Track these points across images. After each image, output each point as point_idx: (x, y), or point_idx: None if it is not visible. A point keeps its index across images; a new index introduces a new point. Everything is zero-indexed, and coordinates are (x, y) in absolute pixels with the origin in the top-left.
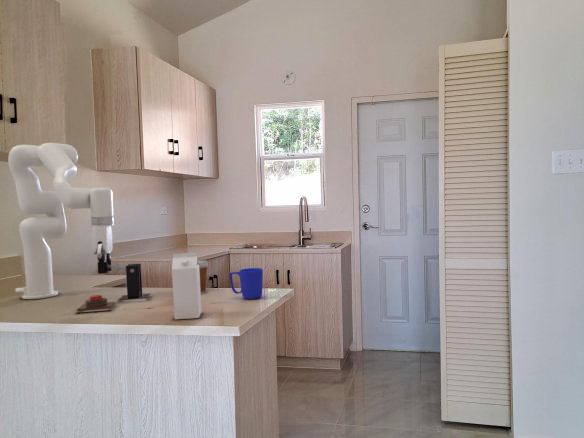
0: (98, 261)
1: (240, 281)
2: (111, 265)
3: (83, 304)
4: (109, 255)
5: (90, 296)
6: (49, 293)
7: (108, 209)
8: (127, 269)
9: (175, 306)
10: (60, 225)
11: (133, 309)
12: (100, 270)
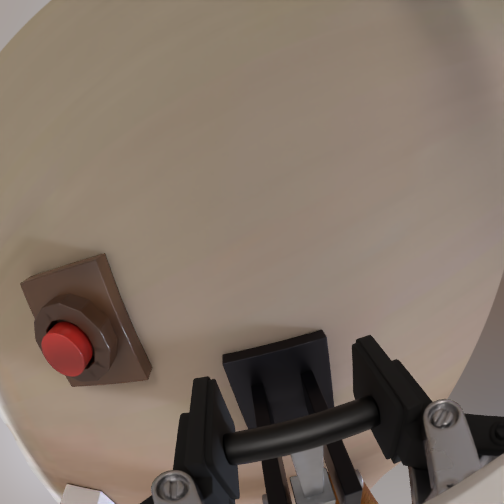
0: (158, 489)
1: None
2: (302, 467)
3: (83, 265)
4: (412, 497)
5: (44, 337)
6: None
7: None
8: (269, 499)
9: (62, 501)
10: None
11: (119, 427)
12: (183, 419)
